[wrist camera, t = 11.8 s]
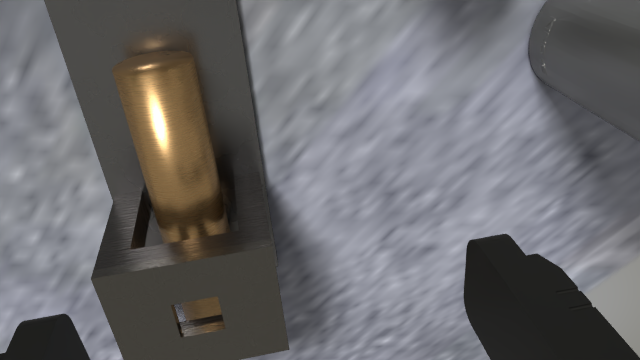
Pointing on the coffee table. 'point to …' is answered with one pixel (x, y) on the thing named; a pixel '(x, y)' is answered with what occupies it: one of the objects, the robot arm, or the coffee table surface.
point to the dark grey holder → (133, 198)
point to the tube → (174, 150)
